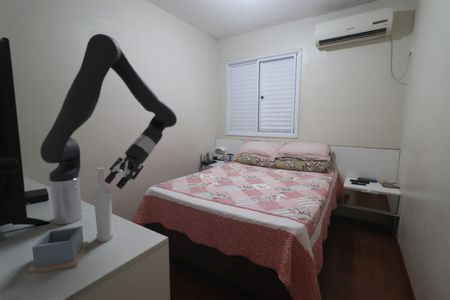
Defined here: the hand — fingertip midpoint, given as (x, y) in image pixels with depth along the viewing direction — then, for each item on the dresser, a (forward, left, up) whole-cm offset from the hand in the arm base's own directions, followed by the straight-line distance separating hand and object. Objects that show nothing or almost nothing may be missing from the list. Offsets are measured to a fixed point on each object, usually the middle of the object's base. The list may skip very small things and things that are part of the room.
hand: (112, 185), depth 73 cm
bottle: (+2, -3, -18) cm, 19 cm away
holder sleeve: (+10, -13, -18) cm, 24 cm away
